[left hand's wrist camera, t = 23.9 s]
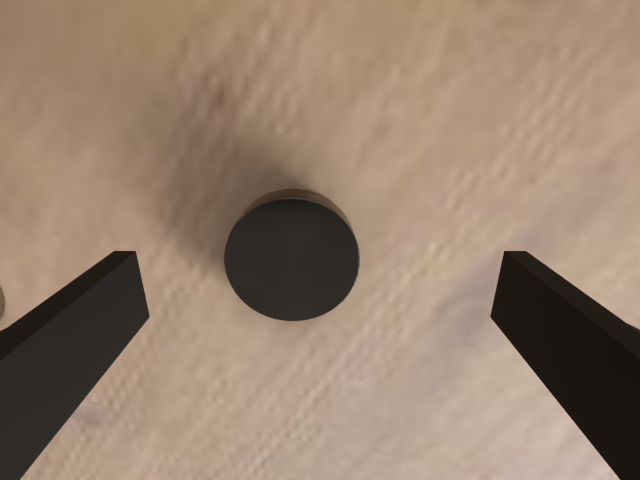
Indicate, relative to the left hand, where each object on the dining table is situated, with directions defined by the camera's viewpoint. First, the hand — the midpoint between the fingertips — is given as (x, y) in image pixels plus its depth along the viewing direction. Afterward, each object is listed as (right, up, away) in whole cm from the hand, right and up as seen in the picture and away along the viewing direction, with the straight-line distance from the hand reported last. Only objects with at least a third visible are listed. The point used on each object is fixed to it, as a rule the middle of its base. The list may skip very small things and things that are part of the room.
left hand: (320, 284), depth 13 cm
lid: (-1, +1, +3) cm, 3 cm away
